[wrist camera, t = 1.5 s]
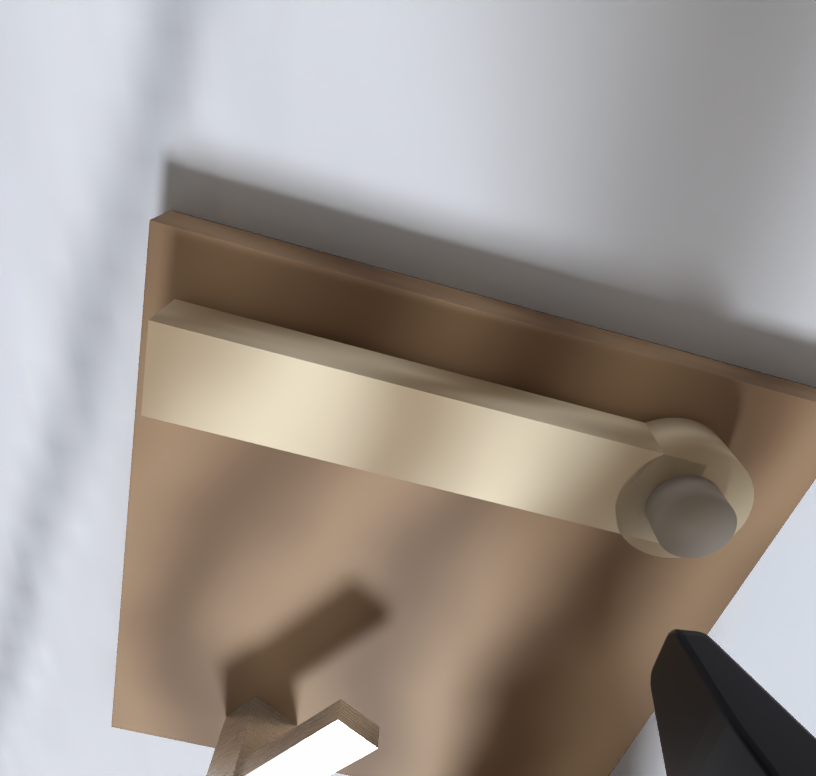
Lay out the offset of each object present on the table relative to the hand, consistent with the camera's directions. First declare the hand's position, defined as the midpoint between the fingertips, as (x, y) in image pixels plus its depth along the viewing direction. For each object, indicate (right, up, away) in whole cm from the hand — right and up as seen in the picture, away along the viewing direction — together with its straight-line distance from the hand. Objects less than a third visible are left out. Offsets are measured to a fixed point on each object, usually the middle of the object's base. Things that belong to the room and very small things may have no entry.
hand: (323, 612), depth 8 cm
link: (+3, +2, +11) cm, 12 cm away
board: (+2, -4, +16) cm, 17 cm away
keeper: (-3, -10, +18) cm, 21 cm away
